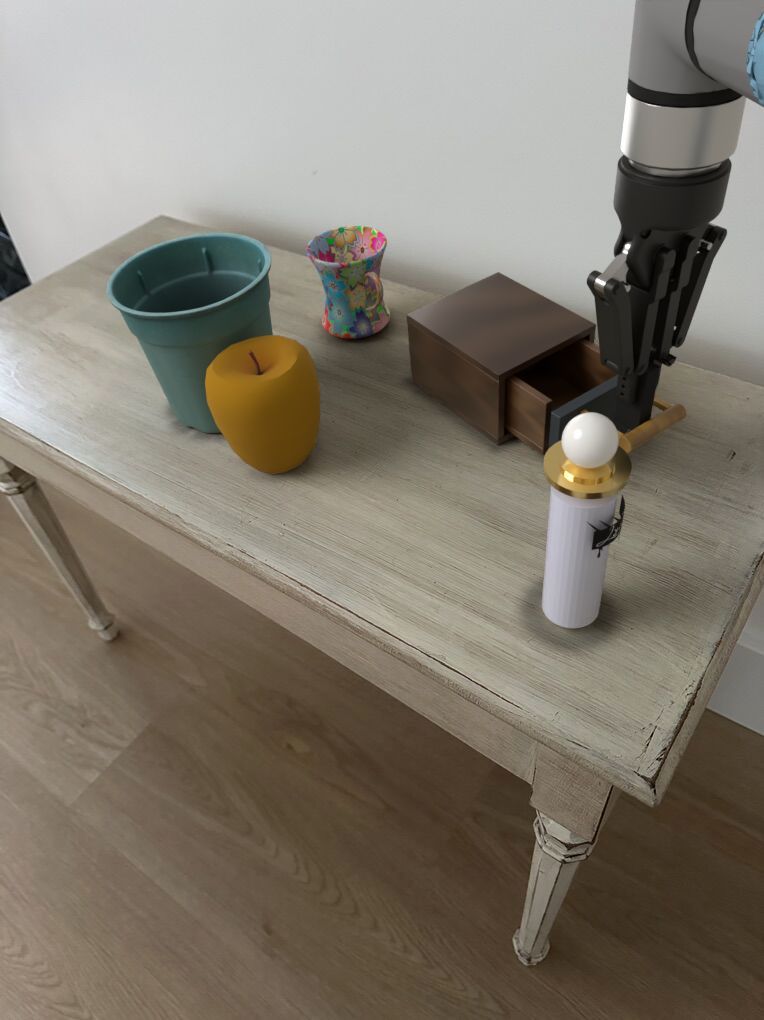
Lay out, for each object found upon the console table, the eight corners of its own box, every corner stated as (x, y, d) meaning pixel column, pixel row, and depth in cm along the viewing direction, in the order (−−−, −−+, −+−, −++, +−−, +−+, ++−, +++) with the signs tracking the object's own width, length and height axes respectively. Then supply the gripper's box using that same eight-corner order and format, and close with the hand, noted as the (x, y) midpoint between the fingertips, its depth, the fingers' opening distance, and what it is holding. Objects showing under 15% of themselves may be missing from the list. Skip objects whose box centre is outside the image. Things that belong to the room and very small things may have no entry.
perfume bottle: (520, 619, 64) (529, 428, 50) (555, 573, 67) (572, 381, 53) (585, 652, 61) (614, 459, 47) (618, 603, 64) (654, 408, 50)
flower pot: (126, 437, 86) (72, 306, 75) (196, 352, 97) (157, 227, 86) (262, 457, 82) (226, 322, 70) (319, 366, 92) (296, 235, 81)
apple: (273, 410, 87) (249, 306, 78) (352, 440, 82) (336, 333, 73) (205, 469, 81) (170, 364, 72) (286, 505, 76) (259, 397, 67)
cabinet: (588, 394, 84) (596, 324, 78) (498, 445, 80) (498, 375, 74) (497, 338, 93) (498, 271, 87) (411, 381, 89) (406, 314, 83)
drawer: (691, 455, 75) (705, 397, 70) (605, 510, 71) (613, 453, 66) (545, 365, 87) (548, 311, 82) (464, 408, 83) (463, 353, 78)
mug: (307, 321, 100) (292, 242, 92) (370, 296, 102) (361, 217, 95) (353, 365, 92) (341, 282, 84) (420, 337, 95) (414, 254, 87)
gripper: (694, 115, 59) (649, 376, 76) (566, 169, 54) (548, 434, 71) (783, 140, 54) (714, 412, 71) (652, 201, 50) (610, 477, 66)
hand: (631, 423), depth 71 cm, fingers closed
